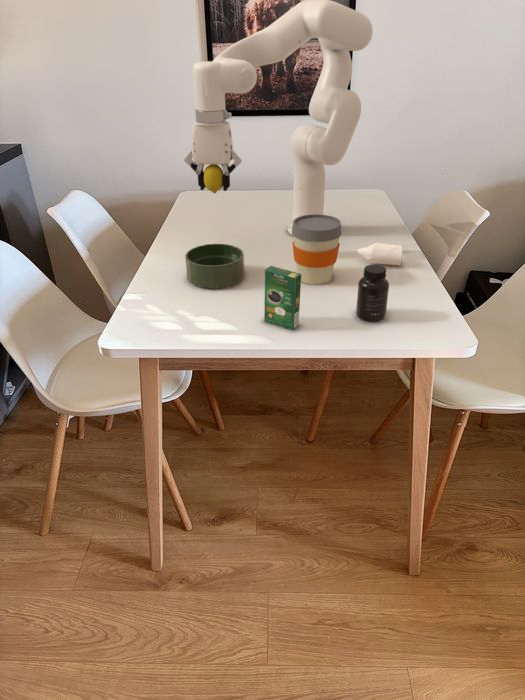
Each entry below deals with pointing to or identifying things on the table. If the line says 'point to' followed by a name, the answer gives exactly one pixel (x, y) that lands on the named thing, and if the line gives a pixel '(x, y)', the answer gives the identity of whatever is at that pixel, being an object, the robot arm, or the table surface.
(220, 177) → the lemon
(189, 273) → the green round bowl
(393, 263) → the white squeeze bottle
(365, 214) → the table surface
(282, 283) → the coffee box
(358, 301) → the supplement bottle
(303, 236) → the reusable coffee cup
